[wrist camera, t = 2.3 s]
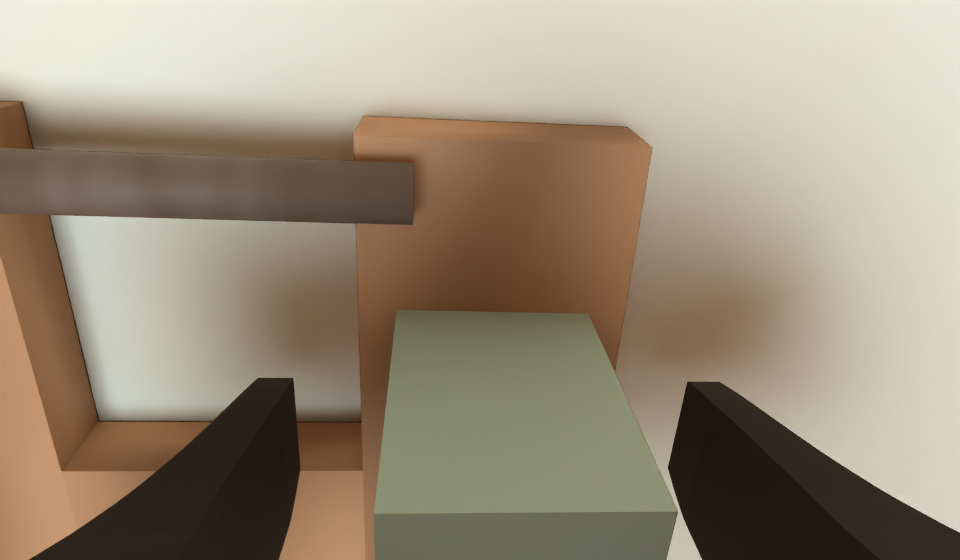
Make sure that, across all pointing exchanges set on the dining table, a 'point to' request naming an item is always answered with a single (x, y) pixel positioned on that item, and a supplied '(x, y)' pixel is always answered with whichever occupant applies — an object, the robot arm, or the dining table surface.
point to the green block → (513, 445)
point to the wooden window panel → (380, 278)
